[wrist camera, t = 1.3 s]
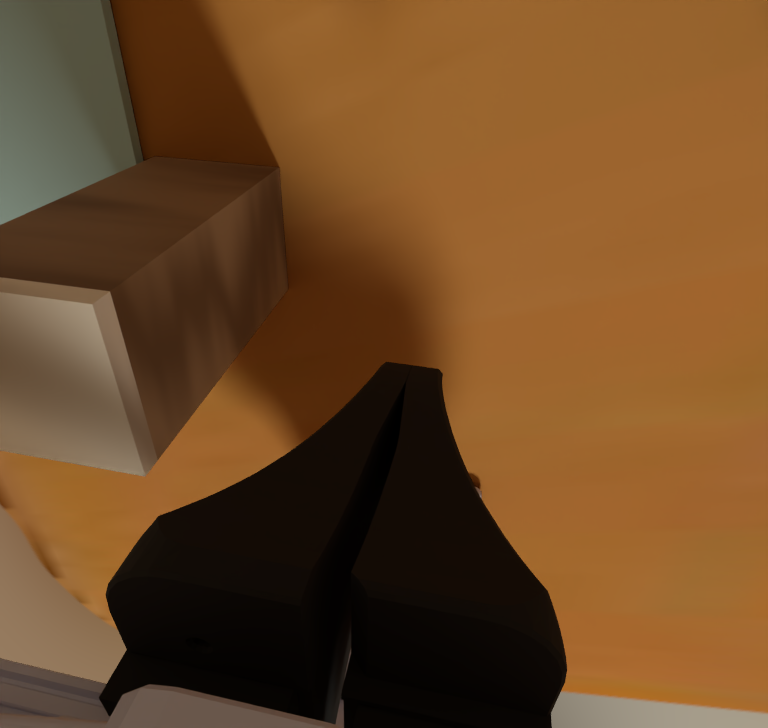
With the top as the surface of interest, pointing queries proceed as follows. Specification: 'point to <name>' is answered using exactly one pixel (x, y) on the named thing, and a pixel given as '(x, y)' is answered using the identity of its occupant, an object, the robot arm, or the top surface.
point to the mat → (60, 102)
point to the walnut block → (133, 306)
